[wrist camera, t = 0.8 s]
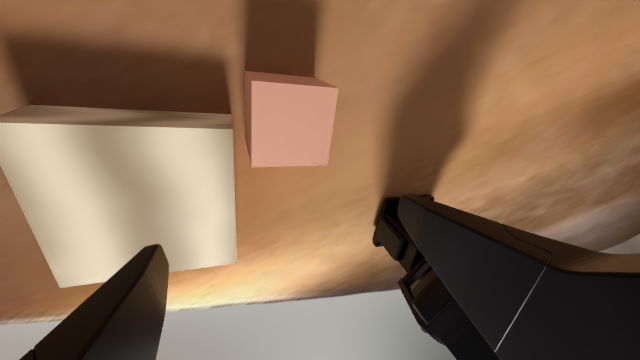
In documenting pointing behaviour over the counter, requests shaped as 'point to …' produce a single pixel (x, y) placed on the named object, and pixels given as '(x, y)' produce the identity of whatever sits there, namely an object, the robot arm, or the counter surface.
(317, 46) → the counter surface
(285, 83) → the cube
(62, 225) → the birch block
